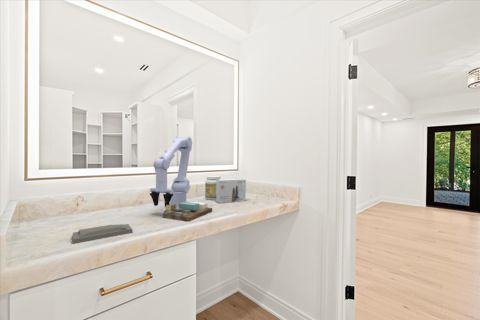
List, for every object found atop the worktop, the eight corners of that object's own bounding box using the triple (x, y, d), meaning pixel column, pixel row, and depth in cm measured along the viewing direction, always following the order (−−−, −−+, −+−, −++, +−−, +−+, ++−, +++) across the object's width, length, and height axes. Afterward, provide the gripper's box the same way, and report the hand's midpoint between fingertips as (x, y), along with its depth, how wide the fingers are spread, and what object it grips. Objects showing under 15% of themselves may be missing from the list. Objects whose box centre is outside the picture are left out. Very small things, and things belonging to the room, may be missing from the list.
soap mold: (133, 234, 91) (133, 225, 91) (72, 245, 79) (72, 236, 79) (128, 227, 99) (128, 220, 99) (72, 237, 87) (72, 228, 87)
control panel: (163, 217, 114) (163, 210, 114) (189, 208, 134) (189, 202, 134) (188, 221, 107) (188, 214, 107) (212, 211, 127) (212, 205, 127)
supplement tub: (202, 198, 167) (202, 176, 167) (215, 196, 175) (215, 175, 175) (211, 201, 158) (211, 177, 158) (224, 198, 166) (224, 176, 166)
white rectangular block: (188, 207, 127) (188, 203, 127) (193, 205, 132) (193, 201, 132) (202, 209, 123) (202, 204, 123) (207, 207, 128) (207, 203, 128)
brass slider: (166, 212, 115) (166, 205, 115) (171, 210, 119) (171, 203, 118) (170, 213, 114) (170, 205, 114) (175, 211, 117) (175, 204, 117)
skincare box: (218, 203, 148) (218, 180, 148) (215, 202, 153) (215, 179, 153) (246, 201, 158) (246, 179, 158) (242, 199, 163) (242, 178, 163)
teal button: (178, 208, 120) (178, 203, 120) (184, 206, 125) (184, 201, 125) (193, 209, 116) (193, 205, 116) (199, 208, 121) (199, 203, 121)
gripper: (145, 181, 118) (145, 206, 118) (166, 182, 112) (166, 209, 112) (155, 179, 124) (155, 203, 124) (176, 181, 118) (175, 206, 118)
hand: (161, 206), depth 119 cm, fingers open, 7 cm apart
